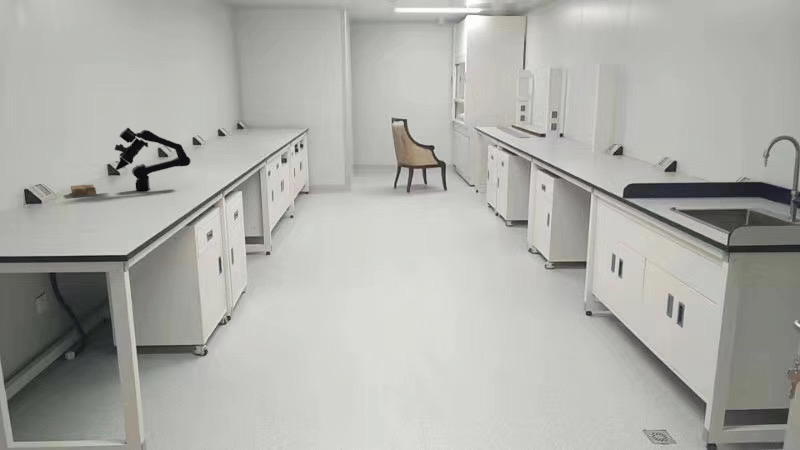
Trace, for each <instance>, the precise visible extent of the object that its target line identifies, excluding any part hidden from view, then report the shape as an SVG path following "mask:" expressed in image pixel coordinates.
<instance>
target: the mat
mask: <svg viewBox="0 0 800 450" xmlns="http://www.w3.org/2000/svg"><path fill="white" fill-rule="evenodd" d="M69 195H70V196H71V198H86V197H87V198H88V197H95V196H96V195H87V196H73V194H72V192H69Z"/></svg>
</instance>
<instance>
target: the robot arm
mask: <svg viewBox="0 0 800 450" xmlns="http://www.w3.org/2000/svg"><path fill="white" fill-rule="evenodd" d="M119 138H121V139H122V140H124V142H126V143H131V144H130V145H128V146H127V147H126V146H124V144H122V143H120V144H115V147H114V150H115V151H118V152H120V153H119V162H118V163H117V165H116V167H115V170H116V171H119V170H121V169H122V168H125V167H126V166H129V165H132V164H133V162H134V159H135V157H136V156H137V155H138V154H139V152H140V151H141V150H142V149H143V148H144V147H146V148H149V142H151V143H155V144H156V143H157V144H160V145H162V146H164V147H168V148H171V149H173V150H175V153H176V156H177V157H175V158H173V159H171V160H166V161H163V162H159V163H155V164H151V165H146V164H144V163H141V164H140V165H135V166H134V167H133V168H132V170H131V174H132V175H133V176H134V177H135V178H136V180H135V181H136V182H135V192H148V191H150V190H151V187H150V179H149V178H150V176H149V174H151V173H156V172H159V171H162V170H168V169H170V168H174V167H186V166H189V165H190V164H191V158H190V157H189V156H188V155H187V153H186V152H185V150H184V147H183V146H182V144H180V143H177V142H173V141H171V140H168V139H167V138H164V137H160V136H158V135H157V134H155V133H153V132H152V131H150V130H148V129H143V130H141V131H140V132H136V133H135V132H134V131H132V129H130V127H127V128H125V129H124V130H123V131H122V132H120V134H119Z"/></svg>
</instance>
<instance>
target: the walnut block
mask: <svg viewBox="0 0 800 450" xmlns="http://www.w3.org/2000/svg"><path fill="white" fill-rule="evenodd" d="M70 191H71V192H70V193H72V194H73V196H87V195H95V196H96V195H97V188H96V186H95V185H94V184H82V185H81V184H79V185H70ZM87 197H88V196H87Z"/></svg>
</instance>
